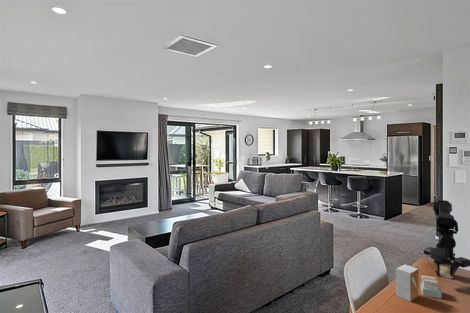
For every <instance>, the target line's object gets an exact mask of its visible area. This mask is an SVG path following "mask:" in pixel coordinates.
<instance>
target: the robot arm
mask: <svg viewBox="0 0 470 313" xmlns="http://www.w3.org/2000/svg"><path fill="white" fill-rule="evenodd" d="M432 211H434V216H435V217H436V219H435V222H436V224H435V226H436V232H437V234H438V236H437V237H438V243H436V245H435V247H432V246H429V247H424V249H423V254H424V255H426V256H429V258H430V259H432V260H433V263H434V264H435V265H436V269H435V270H434V272H435V274H436V276H437V277H441V276H440V264H447V265H450V266H451V268H450V274H451V276H453V277H454V275H455V274H456V273H457V271H458V269H459V268H464V269H465V268H468V267H470V259H469V258H466V257H463V256H460V257H455V256H456V253H454V248H456V245H457V243H456V242H457V241H456V240H455V238H454V235H458V233H459V224H458V221H457V220H456V219H455V217H454V215H452V214H451V213H452V212H453V204H452V203H451V202H450V201H449V200H445V199H444V200H443V199H439V200H436V201H433V202H432Z"/></svg>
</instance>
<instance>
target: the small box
mask: <svg viewBox="0 0 470 313" xmlns="http://www.w3.org/2000/svg"><path fill="white" fill-rule="evenodd" d="M395 274H396V275H395V277H396V278H395V285H396V286H395V288H396V289H395V293H396V294H395V295H396V297H398V298H400V299H402V300H405V301H408V302H412V301H413V300H415V299H417V298H418V297H419V268H416V267H414V266H411V265H408V264H405V263H404V264H403V265H400V266H399V267H396V270H395Z"/></svg>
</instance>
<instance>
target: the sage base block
mask: <svg viewBox="0 0 470 313" xmlns="http://www.w3.org/2000/svg"><path fill="white" fill-rule="evenodd" d="M420 290H421V294H422V296H424V297H425V296H426V297H430V298H434V299H435V298H436V299H442V295H443V294H442V290H441V288H440V285H439V284H438V290H435V289H429V288H424V287H423V285H422V281H420Z"/></svg>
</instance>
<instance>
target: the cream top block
mask: <svg viewBox="0 0 470 313" xmlns="http://www.w3.org/2000/svg"><path fill="white" fill-rule="evenodd" d="M421 282H422V285H423V287H424V288H429V289H435V290H438V285H439V282H438V279H437V278H436V276H430V275H421Z"/></svg>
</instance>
